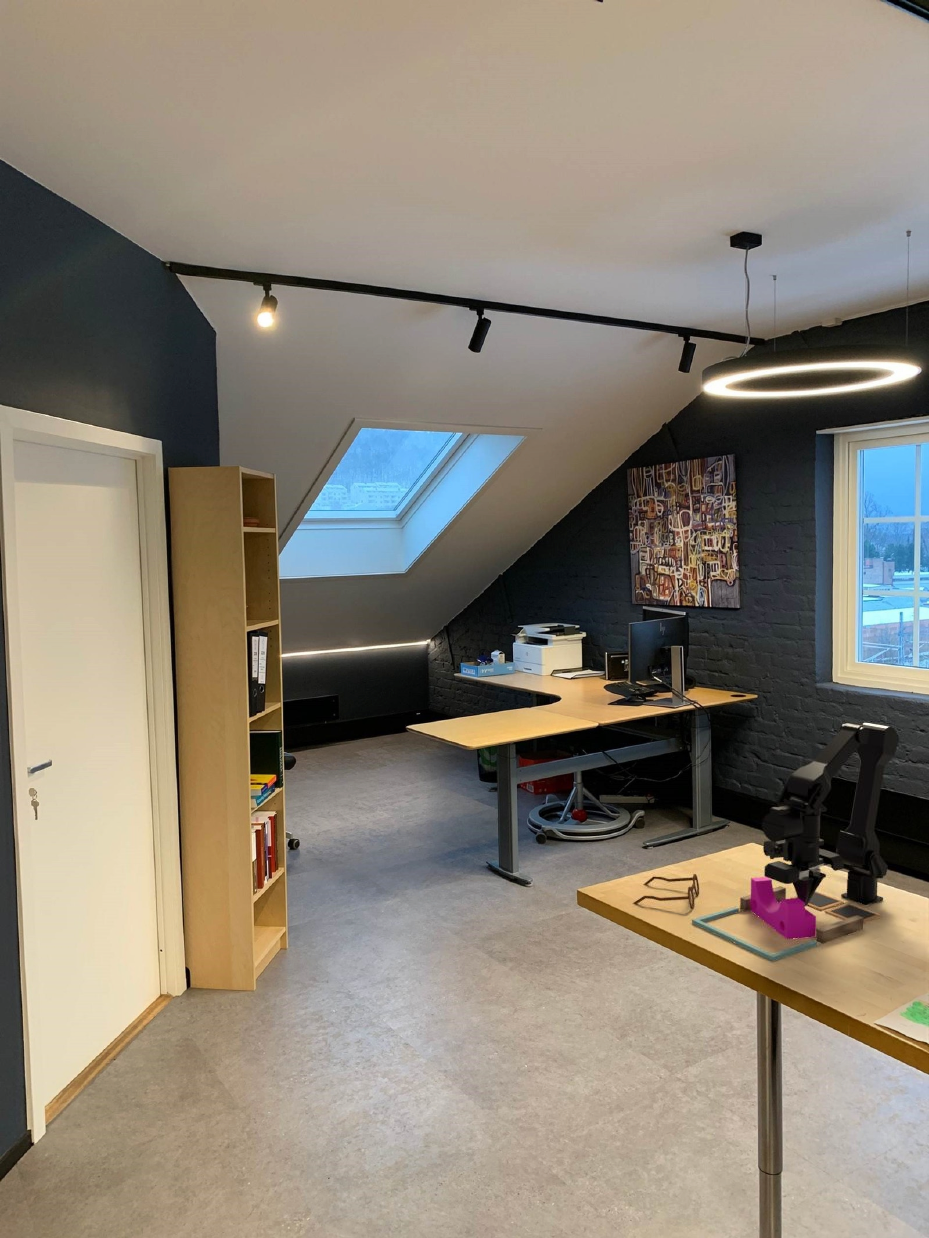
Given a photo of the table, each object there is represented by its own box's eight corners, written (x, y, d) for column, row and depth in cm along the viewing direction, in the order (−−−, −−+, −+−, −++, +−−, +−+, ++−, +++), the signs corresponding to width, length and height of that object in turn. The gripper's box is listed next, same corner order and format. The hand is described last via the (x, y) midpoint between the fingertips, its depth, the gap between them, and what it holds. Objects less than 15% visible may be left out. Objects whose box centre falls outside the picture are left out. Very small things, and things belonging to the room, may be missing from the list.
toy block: (815, 937, 182) (816, 901, 182) (787, 940, 181) (787, 904, 180) (776, 909, 197) (777, 875, 196) (750, 911, 196) (751, 877, 195)
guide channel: (780, 896, 203) (780, 886, 203) (863, 929, 185) (863, 917, 185) (740, 908, 197) (740, 897, 196) (822, 943, 179) (822, 931, 178)
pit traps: (813, 891, 206) (813, 889, 206) (881, 916, 192) (881, 914, 192) (790, 898, 202) (790, 897, 202) (857, 924, 188) (857, 923, 188)
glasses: (692, 914, 195) (692, 891, 195) (632, 905, 200) (632, 883, 200) (700, 892, 208) (700, 871, 207) (643, 885, 212) (643, 864, 212)
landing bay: (735, 910, 196) (735, 906, 196) (817, 945, 178) (817, 941, 178) (692, 923, 189) (692, 919, 189) (772, 961, 171) (772, 957, 171)
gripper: (802, 817, 202) (800, 885, 203) (744, 830, 192) (743, 902, 193) (846, 830, 192) (844, 901, 194) (787, 844, 183) (785, 919, 184)
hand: (803, 905), depth 191 cm, fingers closed
